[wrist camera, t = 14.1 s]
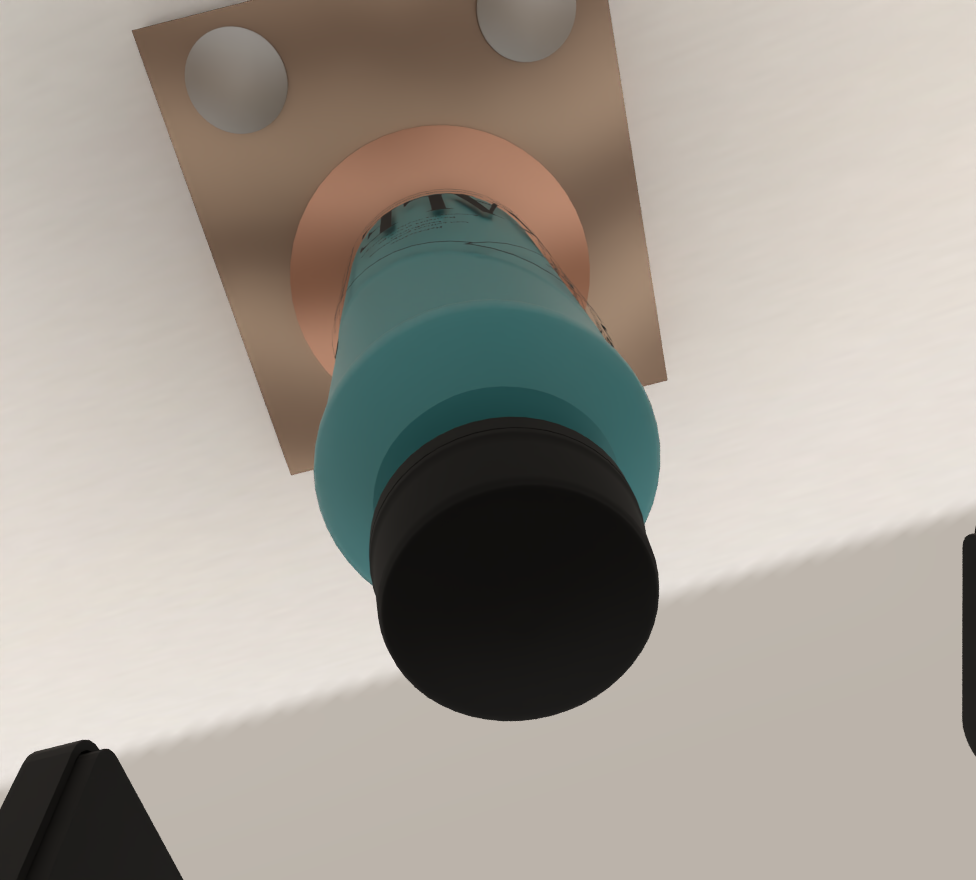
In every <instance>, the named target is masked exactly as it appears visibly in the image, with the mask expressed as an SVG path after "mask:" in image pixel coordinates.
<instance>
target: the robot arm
mask: <svg viewBox="0 0 976 880" xmlns="http://www.w3.org/2000/svg"><path fill="white" fill-rule="evenodd" d="M962 605H963V606H962V608H963V609H962V610H963V614H962V616H963V618H962V622H963V623H962V626H963V628H962V643H963V644H962V645H963V646H962V647H963V648H962V654H963V655H962V669H963V670H962V671H963V672H962V681H963V682H962V696H963V697H962V721H963V729H964V732H965V736H966V739H967V741H968V744H969V746H970V748H971V749H972V751H973V753H974V755H975V756H976V528H975V533H974V534H970V535H968V536H966V537H965V540H964V541H963V603H962ZM0 880H183V878H182V876H181V875H180V873H179V871H178V869H177V867H176V865H175V864H174V862H173V860H172V858H171V856H170V854H169V852H168V851H167V849H166V847H165V845H164V843H163V842H162V840H161V838H160V836H159V834H158V832H157V830H156V829H155V827H154V825H153V823H152V821H151V819H150V817H149V816H148V814H147V812H146V810H145V808H144V806H143V804H142V803H141V801H140V799H139V797H138V795H137V793H136V792H135V790H134V788H133V786H132V784H131V782H130V780H129V779H128V777H127V775H126V773H125V771H124V769H123V768H122V766H121V764H120V762H119V760H118V758H117V757H116V755H115V754H114V753H113V752H112V751H111V750H109V749H102V750H99V749H98V747H97V746H96V744H94V743H93V742H91V741H90V740H80V741H76V742H72V743H68V744H64V745H60V746H56V747H52V748H48V749H44V750H40V751H36V752H34V753H32V754H30V755H29V756H28V757H27V758H26V760H25V761H24V763H23V764H22V766H21V768H20V770H19V772H18V774H17V776H16V778H15V780H14V782H13V784H12V786H11V788H10V790H9V792H8V794H7V796H6V798H5V800H4V802H3V804H2V806H1V809H0Z"/></svg>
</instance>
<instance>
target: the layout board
mask: <svg viewBox="0 0 976 880" xmlns="http://www.w3.org/2000/svg"><path fill="white" fill-rule="evenodd" d="M132 33H133V35H134V38H135V41H136V44H137V47H138V49H139V52H140V55H141V58H142V60H143V63H144V66H145V69H146V72H147V74H148V77H149V80H150V83H151V86H152V88H153V91H154V94H155V97H156V100H157V102H158V105H159V108H160V111H161V114H162V116H163V119H164V122H165V125H166V127H167V130H168V133H169V136H170V139H171V141H172V144H173V147H174V150H175V153H176V155H177V158H178V161H179V164H180V167H181V169H182V172H183V175H184V178H185V180H186V183H187V186H188V189H189V192H190V194H191V197H192V200H193V203H194V206H195V208H196V211H197V214H198V217H199V220H200V222H201V225H202V228H203V231H204V233H205V236H206V239H207V242H208V245H209V247H210V250H211V253H212V256H213V259H214V261H215V264H216V267H217V270H218V273H219V275H220V278H221V281H222V284H223V287H224V289H225V292H226V295H227V298H228V300H229V303H230V306H231V309H232V312H233V314H234V317H235V320H236V323H237V326H238V328H239V331H240V334H241V337H242V340H243V342H244V345H245V348H246V351H247V353H248V356H249V359H250V362H251V365H252V367H253V370H254V373H255V376H256V379H257V381H258V384H259V387H260V390H261V393H262V395H263V398H264V401H265V404H266V406H267V409H268V412H269V415H270V418H271V420H272V423H273V426H274V429H275V432H276V434H277V437H278V440H279V443H280V446H281V448H282V451H283V454H284V457H285V460H286V462H287V465H288V468H289V471H290V473H291V475H294V474H298V473H302V472H306V471H310V470H314V456H315V445H316V440H317V435H318V430H319V425H320V422H321V419H322V416H323V413H324V411H325V408H326V405H327V402H328V396H329V391H330V386H331V381H332V375H333V370H334V365H335V357H334V355H336V349H337V343H338V334H339V327H340V321H341V315H342V310H343V306H344V303H343V300H344V301H345V296H346V290H347V287H348V282H349V277H350V273H351V268H352V264H353V261H354V258H355V255H356V252H357V250H358V248H359V246H360V244H361V242H362V241H363V239H364V238H365V236H366V235H367V233H368V232H369V230H370V229H371V228H372V227H373V226H374V225H375V224H376V221H377V220H378V219H379V220H380V219H381V217H382V216H383V215H385V214H386V213H388V212H389V211H391V210H392V209H394V208H395V207H397V206H399V205H401V204H403V203H405V202H407V201H409V200H412V199H416V198H419V197H422V196H427V195H432V194H441V193H453V194H465V195H470V196H472V197H475V198H478V199H481V200H484V201H486V202H488V203H490V204H493V203H495V204H497V203H499V204H497V205H499V206H497V207H498V208H500V209H501V210H503V211H504V212H506V213H507V214H509V215H510V216H511V217H512V218H513V219H515V220H516V221H517V222H518V224H519V225H520V226H521V227H522V228H523V229H526V230H527V231H529V230H530V231H531V232H532V233H533V234H535V235H536V237H537V238H538V239H539V240H537V238H536V237H535V236H534V235H532V234H531V233H530V234H529V233H528V232H527V231H526V233H527V234H528V235H529V237H530V238H531V239H532V241H533V242H534V243H535V245H536V246H537V247H538V249H539V250H540V251H541V253H542V254H543V255H544V254H545V255H544V257H546V258H547V259H549V260H547V261H548V262H549V264H550V263H552V262H554V263H553V266H554V267H553V266H552V265H551V264H550V265H551V266H552V268H553V269H554V268H556V269H557V268H558V267H559V268H558V270H559V271H560V272H558V270H557V272H558V274H560V275H561V276H560V275H558V276H560V278H561V280H562V281H563V282H564V283H565V285H566V286H567V285H569V284H573V285H575V287H576V288H575V287H574V286H573V287H574V291H575V292H576V293H577V294H578V293H579V294H578V295H579V296H578V295H577V294H574V293H575V292H573V290H571V288H572V287H571V286H570V285H569V287H571V288H570V289H569V287H568V286H567V288H568V289H569V290H570V292H571V293H572V294H574V297H575V296H576V295H577V297H575V298H576V300H577V299H578V300H577V301H579V303H580V305H581V306H582V308H583V309H585V311H586V313H587V314H588V316H589V317H590V318H591V320H592V321H593V322H594V324H595V325H596V326H600V325H601V324H602V325H603V326H604V327H605V328H606V330H607V331H606V330H604V329H603V327H602V325H601V326H600V327H597V328H598V329H600V328H601V327H602V328H601V329H600V330H599V331H601V330H602V329H603V330H602V335H603V337H604V338H606V341H607V337H608V335H609V337H610V338H611V340H612V341H611V340H610V338H609V337H608V338H609V340H610V341H611V342H613V343H612V344H613V346H614V348H615V349H616V351H617V352H618V353H619V354H620V355H621V356H622V358H623V359H624V360H625V361H626V360H627V361H626V362H628V364H629V366H630V367H631V369H632V370H633V372H634V373H635V375H636V376H637V378H638V380H639V381H640V383H641V384H642V386H647V385H651V384H655V383H659V382H663V381H667V374H666V368H665V362H664V355H663V349H662V342H661V336H660V329H659V323H658V317H657V310H656V304H655V297H654V291H653V285H652V278H651V272H650V265H649V259H648V253H647V246H646V240H645V233H644V227H643V221H642V214H641V208H640V201H639V195H638V189H637V182H636V176H635V169H634V163H633V157H632V150H631V144H630V137H629V131H628V125H627V118H626V112H625V105H624V99H623V93H622V86H621V80H620V73H619V67H618V61H617V54H616V48H615V41H614V35H613V29H612V22H611V16H610V9H609V3H608V0H251V1H247V2H243V3H239V4H235V5H231V6H227V7H223V8H219V9H215V10H211V11H207V12H203V13H200V14H196V15H192V16H188V17H184V18H180V19H176V20H172V21H168V22H164V23H160V24H156V25H152V26H148V27H144V28H140V29H136V30H132ZM439 189H443V190H439ZM452 189H457V190H452ZM431 190H432V191H431ZM463 190H465V191H463ZM426 191H427V192H426ZM438 191H439V192H438ZM442 191H443V192H442ZM446 191H447V192H446ZM448 191H449V192H448ZM453 191H454V192H453ZM455 191H456V192H455ZM457 191H458V192H457ZM459 191H460V192H459ZM461 191H462V192H461ZM468 191H470V192H468ZM421 192H422V193H421ZM430 192H431V193H430ZM432 192H433V193H432ZM434 192H435V193H434ZM436 192H437V193H436ZM463 192H464V193H463ZM465 192H466V193H465ZM474 192H475V193H474ZM417 193H419V194H417ZM426 193H427V194H426ZM428 193H429V194H428ZM469 193H471V194H469ZM477 193H478V194H477ZM414 194H416V195H414ZM420 194H421V195H420ZM424 194H425V195H424ZM474 194H475V195H474ZM480 194H481V195H480ZM411 195H413V196H411ZM417 195H418V196H417ZM419 195H420V196H419ZM478 195H479V196H478ZM483 195H484V196H483ZM408 196H410V197H408ZM415 196H416V197H415ZM480 196H481V197H480ZM406 197H407V198H406ZM411 197H412V198H411ZM413 197H414V198H413ZM488 197H489V198H488ZM404 198H405V199H404ZM409 198H410V199H409ZM490 198H491V199H490ZM402 199H403V200H402ZM406 199H407V200H406ZM400 200H401V201H400ZM404 200H405V201H404ZM487 200H488V201H487ZM402 201H403V202H402ZM490 201H491V202H490ZM493 201H494V202H493ZM400 202H401V203H400ZM492 202H493V203H492ZM394 203H395V204H396V206H395V204H394ZM397 203H398V205H397ZM399 203H400V204H399ZM392 204H393V205H392ZM500 204H501V205H500ZM389 206H390V207H389ZM392 206H393V207H392ZM500 206H501V207H500ZM503 206H504V207H503ZM505 206H506V208H507V209H506V208H505ZM502 207H503V208H502ZM386 208H387V209H386ZM389 208H391V209H389ZM504 208H505V209H506V210H505V209H504ZM508 209H509V210H508ZM383 210H384V211H383ZM387 210H388V211H387ZM507 210H508V211H509V212H511V213H513V214H514V215H515V216H516V215H518V217H517V218H518V219H519V220H520V221H521V222H522V223H523V224H524V225H525V226H526V227H527V228H528V227H529V228H528V229H529V230H528V229H527V228H526V227H525V226H524V225H523V224H522V223H521V222H520V221H519V220H518V219H516V218H515V217H514V216H513V215H512V214H510V213H509V212H508V211H507ZM511 210H512V211H511ZM382 211H383V212H382ZM384 212H385V213H384ZM382 213H383V214H382ZM381 214H382V215H381ZM376 216H377V217H376ZM379 216H380V217H379ZM375 217H376V218H375ZM378 217H379V218H378ZM374 218H375V219H376V220H375V219H374ZM379 220H378V221H379ZM522 220H523V221H522ZM371 221H372V222H373V221H374V222H373V223H372V222H371ZM370 222H371V223H372V224H371V223H370ZM369 223H370V224H369ZM526 224H527V225H526ZM368 226H369V227H368ZM367 227H368V228H367ZM369 228H370V229H369ZM368 229H369V230H368ZM363 230H364V231H363ZM367 230H368V231H367ZM366 231H367V233H366V234H365V232H366ZM530 231H529V232H530ZM363 232H364V233H363ZM361 233H362V234H361ZM364 234H365V236H364V238H363V239H362V237H363V235H364ZM359 236H360V237H359ZM357 239H358V240H357ZM538 241H539V242H538ZM539 243H540V245H541V246H540V245H539ZM541 243H542V244H543V245H542V244H541ZM543 246H544V247H545V248H546V249H547V250H546V249H545V248H544V247H543ZM353 247H354V248H353ZM541 247H542V248H541ZM542 249H543V250H542ZM352 250H353V253H352ZM545 250H546V251H547V252H546V251H545ZM543 251H544V252H543ZM548 252H549V253H550V254H548ZM350 253H351V254H352V257H349V256H351V254H350ZM551 256H552V257H551ZM349 258H350V259H351V262H350V259H349ZM550 258H551V259H552V260H551V259H550ZM348 259H349V260H348ZM348 261H349V262H348ZM556 262H557V263H556ZM349 263H350V266H349ZM347 264H348V265H347ZM554 264H555V265H554ZM346 265H347V266H346ZM555 266H556V267H555ZM557 266H558V267H557ZM348 268H349V270H348ZM346 270H347V271H346ZM561 270H562V271H561ZM347 272H348V274H347ZM555 272H556V271H555ZM561 272H563V273H564V274H565V275H563V274H562V273H561ZM344 274H345V275H344ZM562 275H563V276H566V275H567V276H566V277H567V278H568V282H570V281H571V282H572V283H571V282H570V283H569V284H568V283H567V282H566V281H565V280H567V279H565V278H564V279H565V280H564V279H563V278H562V277H563V276H562ZM346 276H347V279H346ZM345 280H346V283H345ZM569 280H570V281H569ZM343 283H344V284H343ZM344 285H345V287H344ZM341 287H342V288H341ZM342 289H344V291H343V290H342ZM341 290H342V291H343V292H342V293H343V295H344V296H342V293H341ZM577 290H578V291H579V292H577ZM344 293H345V294H344ZM580 293H581V294H580ZM581 295H582V296H583V297H584V298H585V299H584V298H583V297H582V296H581ZM341 297H343V298H342V301H341V300H339V298H340V299H341ZM580 298H581V299H580ZM581 300H582V301H581ZM340 301H341V303H340ZM585 301H586V302H585ZM587 302H588V303H589V304H587ZM339 303H340V304H339ZM582 303H583V304H582ZM337 305H339V306H337ZM588 305H589V306H588ZM583 306H584V307H583ZM339 307H340V308H339ZM591 307H592V308H591ZM337 308H338V309H337ZM590 308H591V309H590ZM592 309H593V310H594V311H593V310H592ZM336 310H337V314H336ZM339 310H340V312H339ZM591 310H592V311H591ZM591 312H592V313H591ZM594 312H596V313H594ZM593 313H594V314H593ZM335 314H336V315H335ZM592 314H593V315H592ZM594 315H595V316H594ZM596 315H598V316H599V317H600V320H601V321H602V322H601V321H600V320H599V317H597V316H596ZM334 317H336V318H334ZM337 317H338V318H337ZM339 318H340V320H339ZM596 318H597V319H596ZM334 319H335V320H336V321H335V320H334ZM595 320H596V321H595ZM597 320H598V321H597ZM597 322H598V324H599V325H598V324H596V323H597ZM603 322H604V323H603ZM335 327H336V328H335ZM332 329H333V330H332ZM335 329H336V331H335ZM605 331H606V332H607V334H608V335H607V334H606V332H605ZM603 332H604V333H603ZM604 335H605V336H604ZM607 342H609V341H607ZM332 344H333V346H332ZM609 344H610V342H609ZM610 345H611V344H610ZM613 346H612V347H613ZM333 350H334V351H333Z"/></svg>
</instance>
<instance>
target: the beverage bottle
mask: <svg viewBox="0 0 976 880" xmlns="http://www.w3.org/2000/svg"><path fill="white" fill-rule="evenodd" d="M439 190H443V189H439ZM452 190H457V189H452ZM431 191H432V190H431ZM463 191H465V190H463ZM426 192H427V191H426ZM438 192H439V191H438ZM442 192H443V191H442ZM446 192H447V191H446ZM448 192H449V191H448ZM453 192H454V191H453ZM455 192H456V191H455ZM457 192H458V191H457ZM459 192H460V191H459ZM461 192H462V191H461ZM468 192H470V191H468ZM421 193H422V192H421ZM430 193H431V192H430ZM432 193H433V192H432ZM434 193H435V192H434ZM436 193H437V192H436ZM463 193H464V192H463ZM465 193H466V192H465ZM474 193H475V192H474ZM417 194H419V193H417ZM426 194H427V193H426ZM428 194H429V193H428ZM469 194H471V193H469ZM477 194H478V193H477ZM414 195H416V194H414ZM420 195H421V194H420ZM420 195H419V196H420ZM424 195H425V194H424ZM474 195H475V194H474ZM480 195H481V194H480ZM411 196H413V195H411ZM417 196H418V195H417ZM478 196H479V195H478ZM483 196H484V195H483ZM408 197H410V196H408ZM415 197H416V196H415ZM480 197H481V196H480ZM406 198H407V197H406ZM411 198H412V197H411ZM413 198H414V197H413ZM488 198H489V197H488ZM404 199H405V198H404ZM409 199H410V198H409ZM490 199H491V198H490ZM402 200H403V199H402ZM406 200H407V199H406ZM400 201H401V200H400ZM404 201H405V200H404ZM487 201H488V200H487ZM402 202H403V201H402ZM490 202H491V201H490ZM493 202H494V201H493ZM493 202H492V203H493ZM400 203H401V202H400ZM400 203H399V204H400ZM394 204H395V203H394ZM497 204H499V203H497ZM497 204H495V203H493V204H490V203H488V202H486V201H484V200H481V199H478V198H475V197H472V196H470V195H465V194H453V193H441V194H432V195H427V196H422V197H419V198H416V199H412V200H409V201H407V202H405V203H403V204H401V205H399V206H397V207H395V208H394V209H392V210H391V211H389V212H388V213H386V214H385V215H383V216H382V217H381V219H380V220H379V219H378V220H379V221H378V220H377V221H376V224H375V225H374V226H373V227H372V228H371V229H370V228H369V229H370V230H369V229H368V230H369V232H368V233H367V231H368V230H367V231H366V232H365V234H366V233H367V235H366V236H365V234H364V235H363V237H362V239H363V238H364V236H365V238H364V239H363V241H362V242H361V244H360V246H359V248H358V250H357V252H356V255H355V258H354V261H353V264H352V268H351V273H350V277H349V282H348V287H347V290H346V296H345V301H344V300H343V303H344V306H343V310H342V315H341V321H340V327H339V334H338V343H337V349H336V355H334V357H335V365H334V370H333V375H332V381H331V386H330V391H329V396H328V402H327V405H326V408H325V411H324V413H323V416H322V419H321V422H320V425H319V430H318V435H317V440H316V445H315V456H314V479H315V490H316V495H317V499H318V503H319V508H320V511H321V514H322V516H323V519H324V521H325V524H326V527H327V529H328V531H329V532H330V534H331V536H332V538H333V540H334V542H335V544H336V545H337V547H338V548H339V550H340V551H341V552H342V554H343V555H344V557H345V558H346V559H347V561H348V562H349V563H350V564H351V565H352V566H353V567H354V569H355V570H356V571H357V572H358V573H359V574H360V575H361V576H362V577H363V578H364V579H365V580H367V581H368V582H369V583H370V584H371V585H373V589H374V592H375V595H376V602H377V611H378V619H379V624H380V629H381V633H382V636H383V639H384V642H385V644H386V647H387V649H388V651H389V653H390V654H391V656H392V658H393V660H394V662H395V663H396V665H397V667H398V668H399V669H400V671H401V672H402V673H403V675H404V676H405V677H406V678H407V679H408V680H409V681H410V682H411V683H412V684H413V685H414V687H415V688H417V689H418V690H419V691H420V692H422V693H423V694H424V695H426V696H427V697H428V698H430V699H432V700H433V701H435V702H437V703H438V704H440V705H442V706H444V707H447V708H449V709H451V710H453V711H455V712H459V713H462V714H465V715H468V716H471V717H477V718H482V719H487V720H497V721H523V720H532V719H538V718H543V717H548V716H552V715H555V714H559V713H562V712H565V711H568V710H570V709H573V708H575V707H577V706H580V705H582V704H584V703H586V702H587V701H589V700H591V699H592V698H594V697H596V696H597V695H599V694H600V693H602V692H603V691H605V690H606V689H607V688H609V687H610V686H611V685H612V684H613V683H615V682H616V681H617V680H618V679H619V678H620V677H621V676H622V675H623V674H624V673H625V672H626V671H627V670H628V669H629V668H630V666H631V665H632V664H633V662H634V661H635V660H636V658H637V657H638V656H639V654H640V653H641V651H642V650H643V648H644V646H645V644H646V642H647V640H648V639H649V636H650V634H651V631H652V628H653V625H654V622H655V618H656V614H657V610H658V599H659V578H658V570H657V565H656V560H655V557H654V554H653V551H652V548H651V546H650V543H649V540H648V538H647V535H646V530H645V525H644V524H645V522H646V520H647V517H648V515H649V512H650V510H651V507H652V505H653V501H654V497H655V494H656V490H657V486H658V478H659V470H660V442H659V435H658V428H657V423H656V420H655V416H654V413H653V409H652V406H651V403H650V401H649V399H648V397H647V394H646V392H645V390H644V388H643V386H642V384H641V383H640V381H639V380H638V378H637V376H636V375H635V373H634V372H633V370H632V369H631V367H630V366H629V364H628V362H626V361H627V360H626V361H625V360H624V359H623V358H622V356H621V355H620V354H619V353H618V352H617V351H616V349H615V348H614V346H613V344H612V343H613V342H611V341H612V340H611V338H610V337H609V335H608V334H607V332H606V331H607V330H606V328H605V327H604V326H603V325H602V324H601V325H602V327H603V329H604V330H606V331H605V332H606V334H607V335H608V337H609V338H610V340H611V341H610V340H609V338H608V337H607V341H609V342H610V344H611V345H610V344H609V342H607V341H606V338H604V337H603V335H602V330H603V329H602V330H601V331H599V330H600V329H601V328H602V327H601V328H600V329H598V328H597V327H600V326H601V325H600V326H596V325H595V324H594V322H593V321H592V320H591V318H590V317H589V316H588V314H587V313H586V311H585V309H583V308H582V306H581V305H580V303H579V301H577V300H578V299H577V300H576V298H575V297H577V295H578V294H579V293H578V294H577V293H576V292H575V291H574V287H575V285H573V284H569V283H570V282H571V281H570V280H569V281H570V282H568V278H567V277H566V276H567V275H566V276H563V275H565V274H564V273H563V272H561V273H562V274H563V275H562V276H563V277H562V278H563V279H564V278H565V279H567V280H565V279H564V280H565V281H566V282H567V283H568V284H569V285H570V286H571V287H572V288H571V287H569V285H567V286H568V287H569V289H570V288H571V290H573V292H575V293H574V294H577V295H576V296H575V297H574V294H572V293H571V292H570V290H569V289H568V288H567V286H566V285H565V283H564V282H563V281H562V280H561V278H560V276H561V275H560V274H558V272H560V271H559V270H558V268H559V267H558V266H557V267H558V268H557V269H556V268H554V269H553V268H552V266H553V263H554V262H552V263H550V264H551V265H552V266H551V265H550V264H549V262H548V261H547V260H549V259H547V258H546V257H544V255H545V254H544V255H543V254H542V253H541V251H540V250H539V249H538V247H537V246H536V245H535V243H534V242H533V241H532V239H531V238H530V237H529V235H528V234H527V233H526V231H527V230H526V229H523V228H522V227H521V226H520V225H519V224H518V222H517V221H516V220H515V219H513V218H512V217H511V216H510V215H509V214H507V213H506V212H504V211H503V210H501V209H500V208H498V207H497V206H499V205H497ZM392 205H393V204H392ZM397 205H398V203H397ZM500 205H501V204H500ZM395 206H396V204H395ZM389 207H390V206H389ZM392 207H393V206H392ZM500 207H501V206H500ZM503 207H504V206H503ZM503 207H502V208H503ZM505 208H506V206H505ZM505 208H504V209H505ZM386 209H387V208H386ZM389 209H391V208H389ZM506 209H507V208H506ZM506 209H505V210H506ZM508 210H509V209H508ZM508 210H507V211H508ZM383 211H384V210H383ZM383 211H382V212H383ZM387 211H388V210H387ZM511 211H512V210H511ZM508 212H509V211H508ZM384 213H385V212H384ZM509 213H510V214H512V215H513V216H514V217H515V218H516V219H518V218H517V217H518V215H516V216H515V215H514V214H513V213H511V212H509ZM382 214H383V213H382ZM382 214H381V215H382ZM376 217H377V216H376ZM376 217H375V218H376ZM379 217H380V216H379ZM379 217H378V218H379ZM375 218H374V219H375ZM375 220H376V219H375ZM518 220H519V219H518ZM519 221H520V220H519ZM522 221H523V220H522ZM371 222H372V221H371ZM371 222H370V223H371ZM373 222H374V221H373ZM373 222H372V223H373ZM520 222H521V221H520ZM370 223H369V224H370ZM372 223H371V224H372ZM521 223H522V222H521ZM522 224H523V223H522ZM523 225H524V224H523ZM526 225H527V224H526ZM524 226H525V225H524ZM368 227H369V226H368ZM368 227H367V228H368ZM525 227H526V226H525ZM526 228H527V227H526ZM528 228H529V227H528ZM528 228H527V229H528ZM528 230H529V229H528ZM363 231H364V230H363ZM529 231H530V230H529ZM529 231H527V232H528V233H529V234H530V233H531V234H532V235H534V236H535V237H536V235H535V234H533V233H532V232H531V231H530V232H529ZM363 233H364V232H363ZM361 234H362V233H361ZM359 237H360V236H359ZM536 238H537V237H536ZM357 240H358V239H357ZM537 240H539V239H538V238H537ZM538 242H539V241H538ZM541 244H542V243H541ZM539 245H540V243H539ZM542 245H543V244H542ZM540 246H541V245H540ZM543 247H544V246H543ZM353 248H354V247H353ZM541 248H542V247H541ZM544 248H545V247H544ZM545 249H546V248H545ZM542 250H543V249H542ZM546 250H547V249H546ZM546 250H545V251H546ZM543 252H544V251H543ZM546 252H547V251H546ZM352 253H353V250H352ZM350 254H351V253H350ZM548 254H550V253H549V252H548ZM349 257H352V254H351V256H349ZM551 257H552V256H551ZM349 259H350V258H349ZM349 259H348V260H349ZM550 259H551V258H550ZM551 260H552V259H551ZM348 262H349V261H348ZM350 262H351V259H350ZM556 263H557V262H556ZM347 265H348V264H347ZM347 265H346V266H347ZM554 265H555V264H554ZM349 266H350V263H349ZM553 267H554V266H553ZM555 267H556V266H555ZM348 270H349V268H348ZM557 270H558V272H557ZM346 271H347V270H346ZM555 271H556V272H555ZM561 271H562V270H561ZM347 274H348V272H347ZM344 275H345V274H344ZM558 275H560V276H558ZM346 279H347V276H346ZM345 283H346V280H345ZM571 283H572V282H571ZM343 284H344V283H343ZM573 286H574V287H573ZM344 287H345V285H344ZM341 288H342V287H341ZM575 288H576V287H575ZM342 290H343V291H344V289H342ZM342 290H341V293H342V292H343V291H342ZM577 292H579V291H578V290H577ZM344 294H345V293H344ZM580 294H581V293H580ZM342 296H344V295H343V293H342ZM578 296H579V295H578ZM581 296H582V295H581ZM582 297H583V296H582ZM342 298H343V297H341V299H340V298H339V300H341V301H342ZM583 298H584V297H583ZM580 299H581V298H580ZM584 299H585V298H584ZM341 301H340V303H341ZM581 301H582V300H581ZM585 302H586V301H585ZM340 303H339V304H340ZM582 304H583V303H582ZM587 304H589V303H588V302H587ZM337 306H339V305H337ZM588 306H589V305H588ZM583 307H584V306H583ZM339 308H340V307H339ZM591 308H592V307H591ZM591 308H590V309H591ZM337 309H338V308H337ZM592 310H593V309H592ZM592 310H591V311H592ZM593 311H594V310H593ZM339 312H340V310H339ZM591 313H592V312H591ZM594 313H596V312H594ZM594 313H593V314H594ZM336 314H337V310H336ZM336 314H335V315H336ZM593 314H592V315H593ZM594 316H595V315H594ZM596 316H597V317H599V316H598V315H596ZM334 318H336V317H334ZM337 318H338V317H337ZM596 319H597V318H596ZM334 320H335V319H334ZM339 320H340V318H339ZM599 320H600V317H599ZM335 321H336V320H335ZM595 321H596V320H595ZM597 321H598V320H597ZM600 321H601V320H600ZM601 322H602V321H601ZM603 323H604V322H603ZM596 324H598V322H597V323H596ZM598 325H599V324H598ZM335 328H336V327H335ZM332 330H333V329H332ZM335 331H336V329H335ZM603 333H604V332H603ZM604 336H605V335H604ZM332 346H333V344H332ZM612 346H613V347H612ZM333 351H334V350H333Z"/></svg>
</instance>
